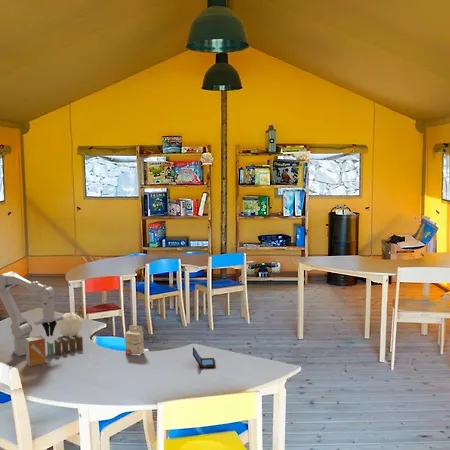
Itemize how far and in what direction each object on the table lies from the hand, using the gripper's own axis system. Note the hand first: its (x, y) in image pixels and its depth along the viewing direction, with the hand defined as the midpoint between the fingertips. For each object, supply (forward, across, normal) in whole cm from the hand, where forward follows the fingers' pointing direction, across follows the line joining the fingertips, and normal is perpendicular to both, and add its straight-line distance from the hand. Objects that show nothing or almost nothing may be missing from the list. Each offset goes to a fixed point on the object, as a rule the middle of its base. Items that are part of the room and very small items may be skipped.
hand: (49, 335), depth 296 cm
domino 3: (+10, +8, 0) cm, 13 cm away
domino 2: (+10, +4, 0) cm, 11 cm away
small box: (+11, -10, -7) cm, 16 cm away
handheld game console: (+11, +54, -62) cm, 84 cm away
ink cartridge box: (+11, +35, -27) cm, 45 cm away
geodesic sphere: (+11, +21, +25) cm, 34 cm away
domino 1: (+10, 0, 0) cm, 10 cm away
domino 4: (+10, +12, 0) cm, 16 cm away
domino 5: (+10, +16, 0) cm, 19 cm away
